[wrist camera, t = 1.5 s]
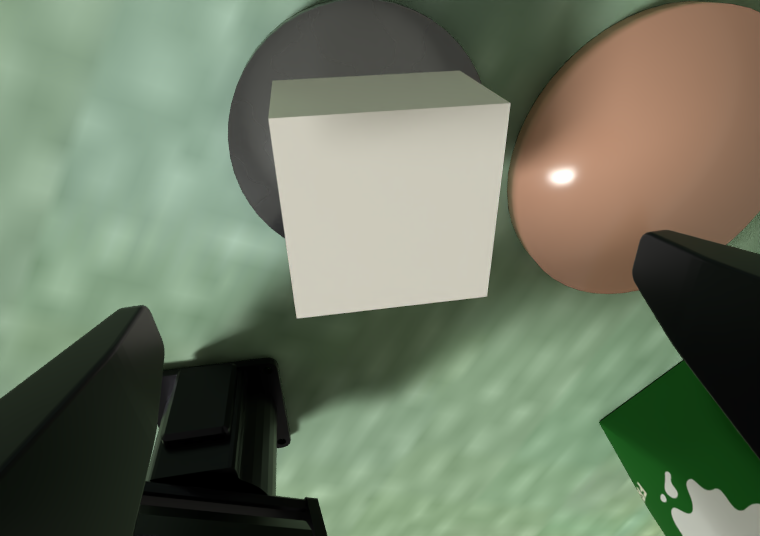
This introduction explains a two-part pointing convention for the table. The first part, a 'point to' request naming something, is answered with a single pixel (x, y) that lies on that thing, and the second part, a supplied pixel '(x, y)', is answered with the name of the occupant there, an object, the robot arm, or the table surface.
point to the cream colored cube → (387, 187)
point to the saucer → (641, 143)
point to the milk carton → (687, 459)
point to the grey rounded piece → (327, 75)
